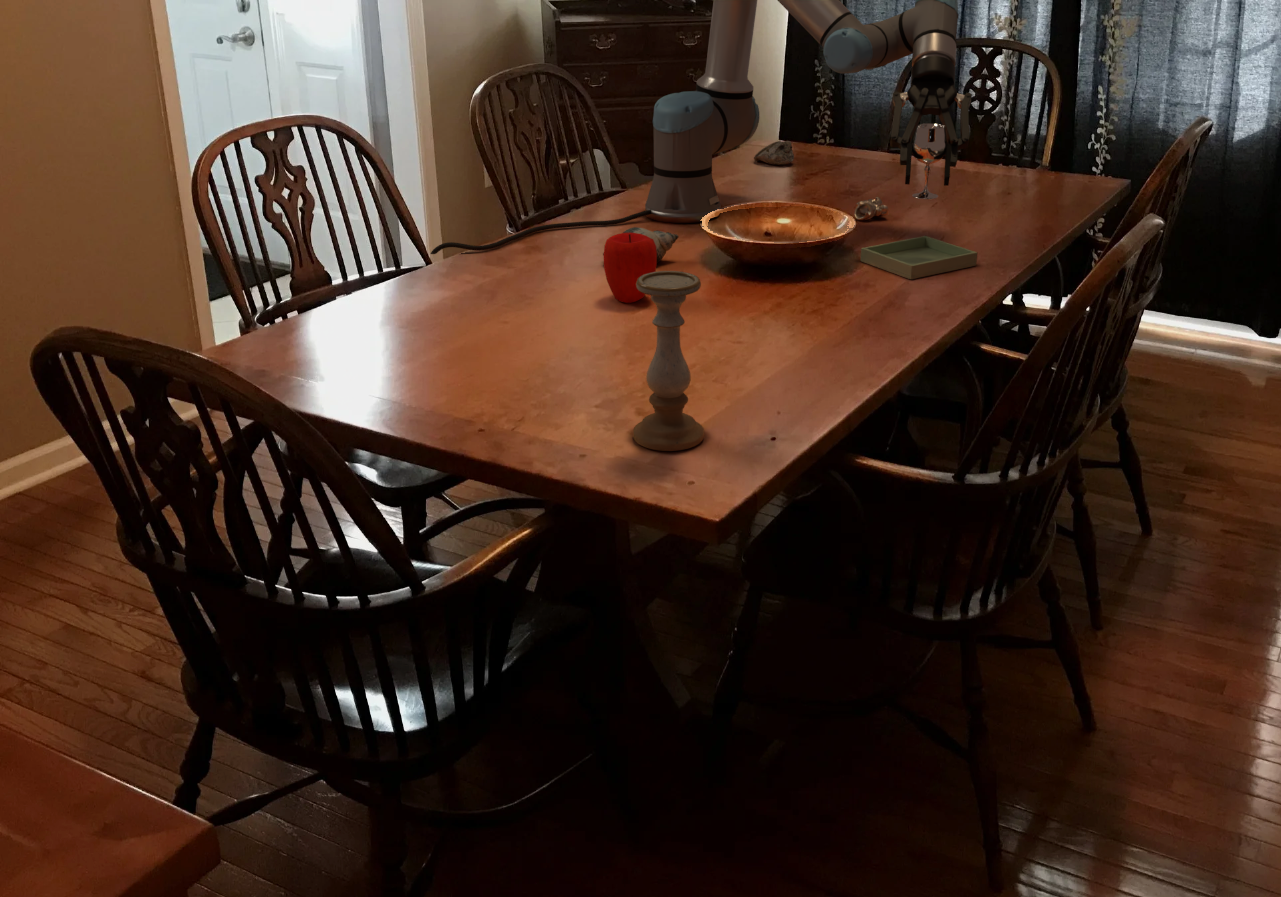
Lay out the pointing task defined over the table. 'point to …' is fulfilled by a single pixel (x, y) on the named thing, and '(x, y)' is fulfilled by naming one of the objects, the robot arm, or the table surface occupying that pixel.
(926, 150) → the wineglass
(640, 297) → the apple
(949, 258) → the tray
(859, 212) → the ornament
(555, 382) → the table surface
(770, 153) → the grey rock
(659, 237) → the seashell
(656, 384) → the candle holder
